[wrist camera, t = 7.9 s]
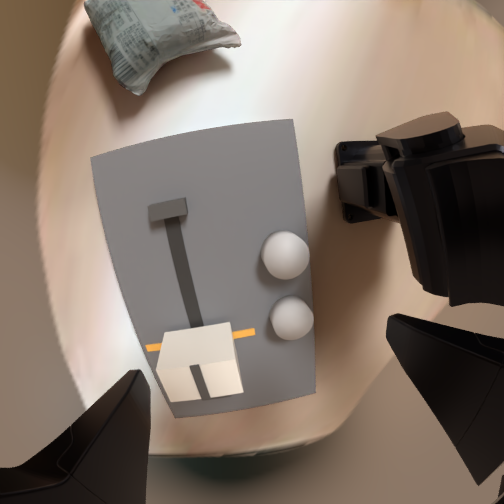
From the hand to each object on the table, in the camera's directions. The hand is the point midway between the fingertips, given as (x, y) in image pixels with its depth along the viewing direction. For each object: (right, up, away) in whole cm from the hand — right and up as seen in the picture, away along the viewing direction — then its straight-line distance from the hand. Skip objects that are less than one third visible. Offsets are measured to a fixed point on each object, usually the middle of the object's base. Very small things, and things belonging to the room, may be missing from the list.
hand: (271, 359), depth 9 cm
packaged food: (-8, +22, +7) cm, 24 cm away
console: (-3, 0, +13) cm, 13 cm away
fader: (-4, -3, +11) cm, 13 cm away
